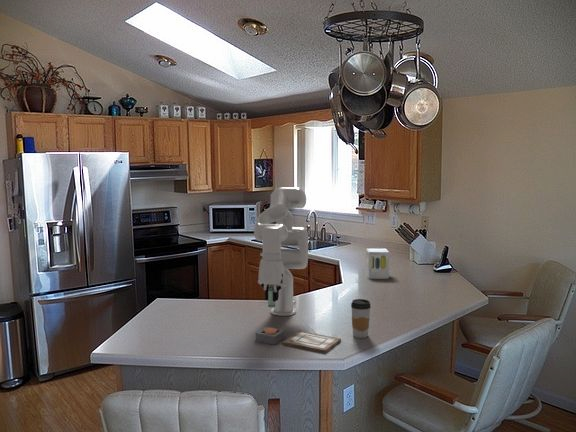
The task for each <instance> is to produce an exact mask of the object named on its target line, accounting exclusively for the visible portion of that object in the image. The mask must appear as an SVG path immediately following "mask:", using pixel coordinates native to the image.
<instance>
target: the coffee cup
mask: <svg viewBox="0 0 576 432" xmlns="http://www.w3.org/2000/svg"><path fill="white" fill-rule="evenodd" d="M350 306H351V321H352V322H351V328H352V334H353V337H355V338H357V339H358V338H359V339H364V338H367V337H368V336H369V328H370V315H371V303H370V300H368V299H362V298H356V299H353V300H352V301H351V303H350Z"/></svg>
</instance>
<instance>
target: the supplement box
mask: <svg viewBox="0 0 576 432" xmlns="http://www.w3.org/2000/svg"><path fill="white" fill-rule="evenodd" d="M365 250H366V251H365V252H366V253H365V255H366V256H365V257H366V258H365V275H366V277H367V279H369V280H370V279H372V280H373V279H375V280H376V279H378V280H381V279H382V280H388V279H389V276H390V274H389V273H390V272H389V271H390V251H389V250H388V249H387V248H386V247H385V248H372V247H371V248H366V249H365Z"/></svg>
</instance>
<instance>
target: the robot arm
mask: <svg viewBox="0 0 576 432" xmlns="http://www.w3.org/2000/svg"><path fill="white" fill-rule="evenodd" d="M306 203H307V195H306V193H305V191H304V190H303V188H301V187H293V186H292V187H291V186H289V187H288V186H287V187H285V186H284V187H278V188H275V189H274V190H273V191H272V193H271V194H270V204H269V207H268V208H266V209H265V210H264V211H263V212H261V213H260V214H259V215H258V216H257V217H256V221H255V225H254V230H253V235H254V236H253V237H254V238H255V239H256V241H259V242H262V252H260V254H259V255H260V257H262V258H261V259H260V261H259V265H258V266H259V267H258V280H257V283H258V284H259V285H260V286H261V287H262V288H263V291H264V298H265V301H268V287H271V286H273V287H274V292H273V301H274V302H275V307H271V309H270V314H272V315H275V316H279V317H280V316H281V317H287V316H292V315H293V316H294V315H295V314H297V308H295V307H294V305H296V304H297V301H296V300H294V276H293V274H292V273H291V271H290V270H304V269H306V268H307V267H308V263H309V262H308V261H309V232H308V230H307V229H306V228H305V227H302V226H300V227H299V226H296V227H295V226H294V215H293V214H292V212H290V210H289V209H303V208H304V207H305V206H306ZM282 247H296V249H295V248H294V249H293V248H282ZM297 248H298V249H297Z"/></svg>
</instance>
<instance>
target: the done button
mask: <svg viewBox="0 0 576 432" xmlns="http://www.w3.org/2000/svg"><path fill="white" fill-rule="evenodd" d="M275 328H276V327H271V328H266V329H265V330H264V333H266V334H271V335H274V334H275V333H276V329H275Z"/></svg>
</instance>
